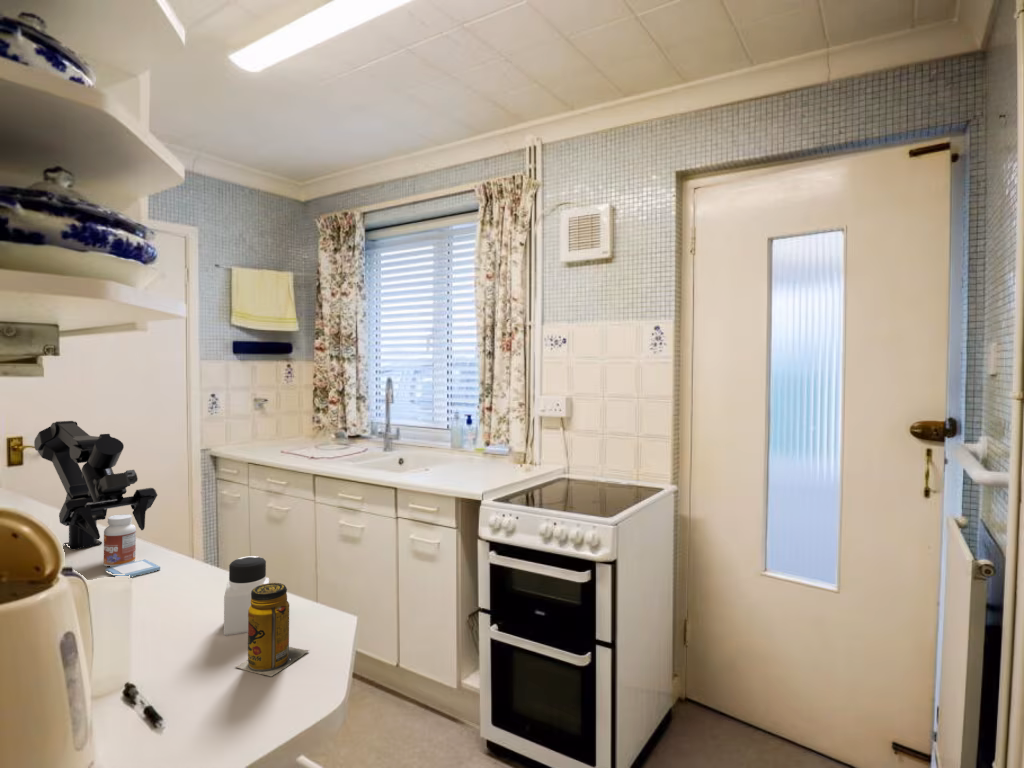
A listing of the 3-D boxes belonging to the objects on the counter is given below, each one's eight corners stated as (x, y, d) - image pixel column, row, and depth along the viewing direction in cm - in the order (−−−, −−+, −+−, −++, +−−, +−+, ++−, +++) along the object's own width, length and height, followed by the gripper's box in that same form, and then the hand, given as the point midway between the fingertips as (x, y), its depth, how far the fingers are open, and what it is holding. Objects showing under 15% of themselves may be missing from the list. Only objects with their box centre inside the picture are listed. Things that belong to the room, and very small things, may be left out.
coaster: (105, 572, 126) (105, 568, 126) (145, 562, 133) (145, 558, 133) (120, 580, 122) (120, 576, 122) (160, 570, 128) (160, 566, 128)
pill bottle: (97, 565, 130) (97, 518, 130) (123, 557, 136) (123, 512, 136) (115, 569, 128) (115, 521, 128) (141, 561, 134) (141, 514, 134)
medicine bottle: (268, 630, 100) (268, 563, 100) (223, 636, 98) (224, 568, 97) (268, 613, 107) (269, 551, 107) (226, 619, 104) (227, 555, 104)
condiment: (234, 668, 88) (235, 592, 87) (275, 643, 96) (276, 574, 95) (271, 678, 85) (272, 599, 85) (309, 652, 93) (310, 580, 93)
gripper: (64, 465, 126) (84, 521, 120) (154, 455, 142) (175, 505, 136) (50, 495, 131) (69, 551, 125) (139, 482, 146) (159, 532, 140)
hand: (121, 533), depth 131 cm, fingers open, 9 cm apart
